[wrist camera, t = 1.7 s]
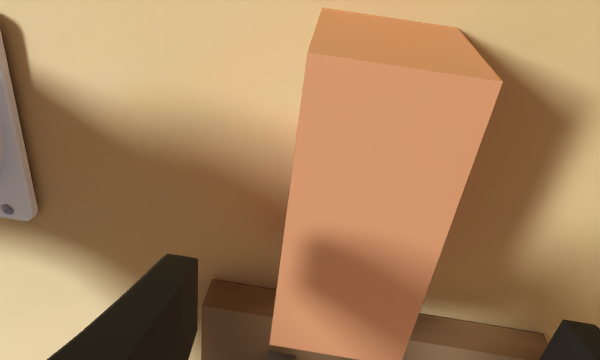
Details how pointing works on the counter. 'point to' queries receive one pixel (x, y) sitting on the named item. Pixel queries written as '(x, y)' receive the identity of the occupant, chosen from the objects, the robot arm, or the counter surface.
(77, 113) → the counter surface
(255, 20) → the counter surface
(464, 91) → the terracotta cardboard box
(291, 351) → the display stand
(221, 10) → the counter surface
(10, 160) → the robot arm
